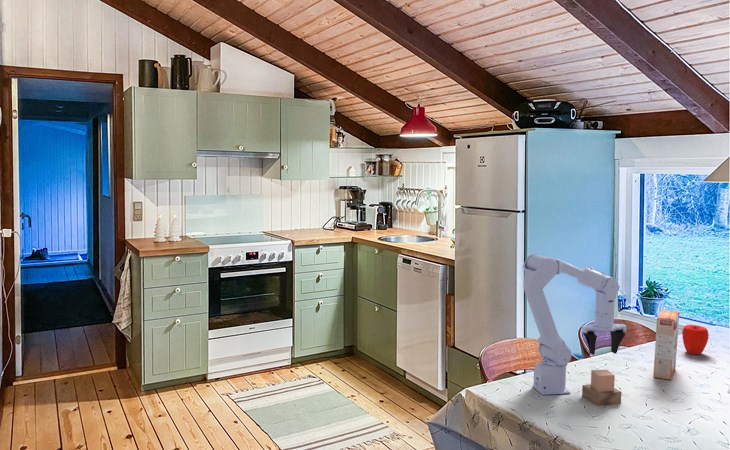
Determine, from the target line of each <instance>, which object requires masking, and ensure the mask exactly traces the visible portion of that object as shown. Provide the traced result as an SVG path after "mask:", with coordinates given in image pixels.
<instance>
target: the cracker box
mask: <svg viewBox="0 0 730 450" xmlns="http://www.w3.org/2000/svg"><path fill="white" fill-rule="evenodd" d="M679 319H680V312H679V311H677V310H667V309H662V310H661V311H660V312H659V314H658V316H657V317H656V328H655V346H654V361H653V378H658V379H663V380H667V381H671V380H672V378H673V376H674V373H675V371H676V363H677V352H678V351H677V350H678V337H679V336H678V335H679V323H680V322H679V321H680V320H679Z"/></svg>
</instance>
